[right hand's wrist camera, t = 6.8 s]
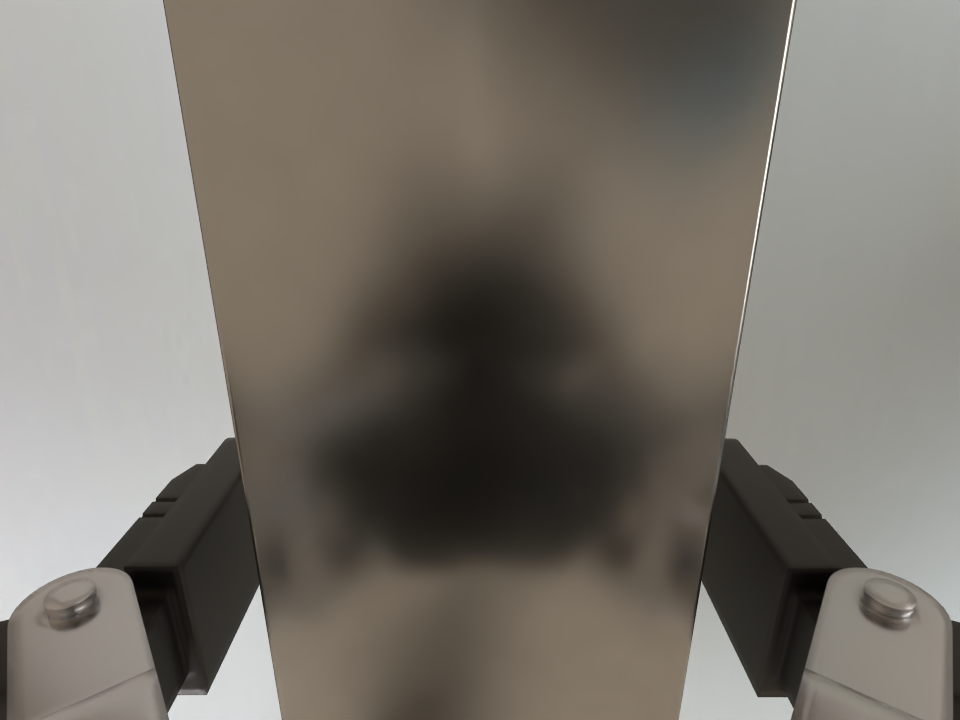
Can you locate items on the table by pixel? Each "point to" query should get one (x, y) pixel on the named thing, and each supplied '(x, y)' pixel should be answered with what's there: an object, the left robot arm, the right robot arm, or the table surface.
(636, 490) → the bar
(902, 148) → the table surface
